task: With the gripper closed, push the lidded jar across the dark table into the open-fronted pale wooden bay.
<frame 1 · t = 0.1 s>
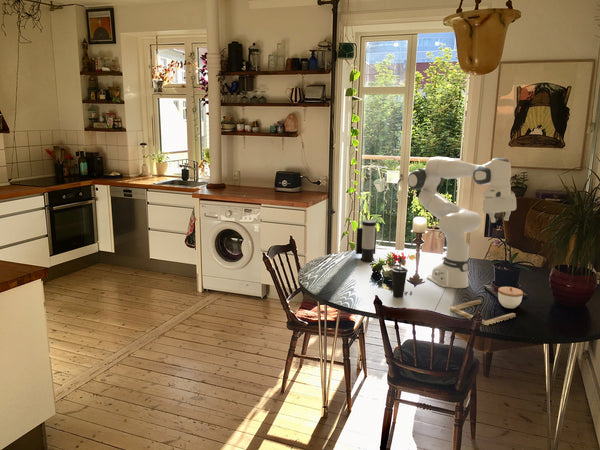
hand: (499, 221, 233), 39 cm above the table, tool pointing down, fingers open, 8 cm apart
lidded jar: (508, 306, 233), on the table
drinking cup: (397, 296, 243), on the table
bay: (481, 313, 223), on the table
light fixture: (366, 260, 302), on the table
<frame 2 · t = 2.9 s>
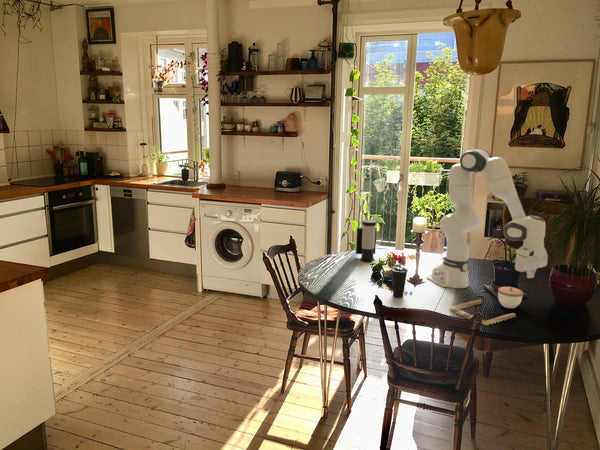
hand: (530, 277, 236), 12 cm above the table, tool pointing down, fingers closed
nothing on the table moved.
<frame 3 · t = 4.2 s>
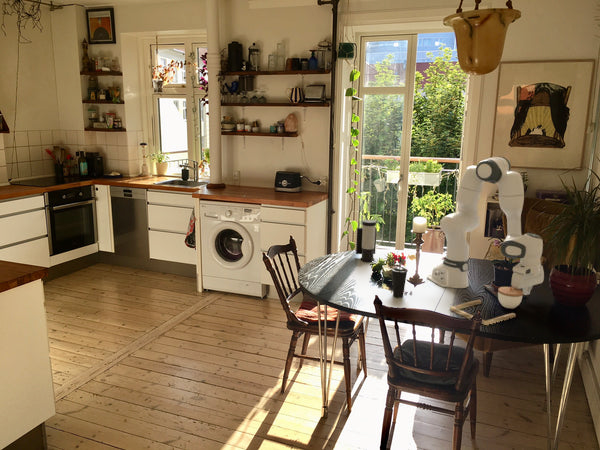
hand: (526, 294, 238), 4 cm above the table, tool pointing down, fingers closed
nothing on the table moved.
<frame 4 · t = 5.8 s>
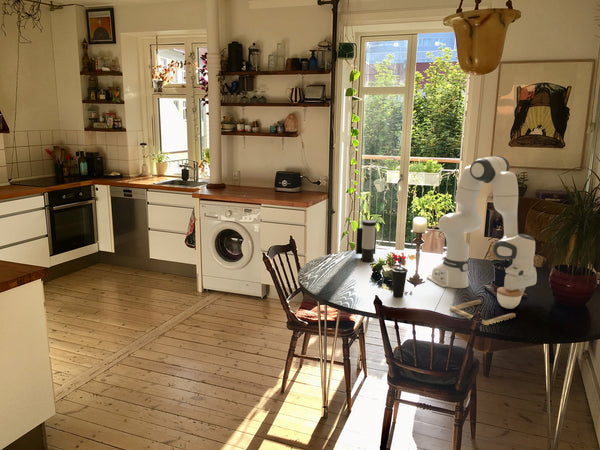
hand: (519, 296, 235), 4 cm above the table, tool pointing down, fingers closed
lidded jar: (507, 306, 232), on the table, touching gripper
everything else where it was.
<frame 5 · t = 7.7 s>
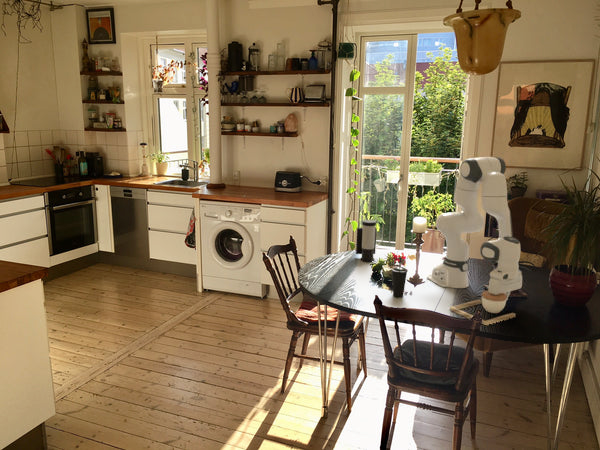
hand: (504, 300, 230), 4 cm above the table, tool pointing down, fingers closed
lidded jar: (492, 310, 226), on the table, touching gripper
everything else where it was.
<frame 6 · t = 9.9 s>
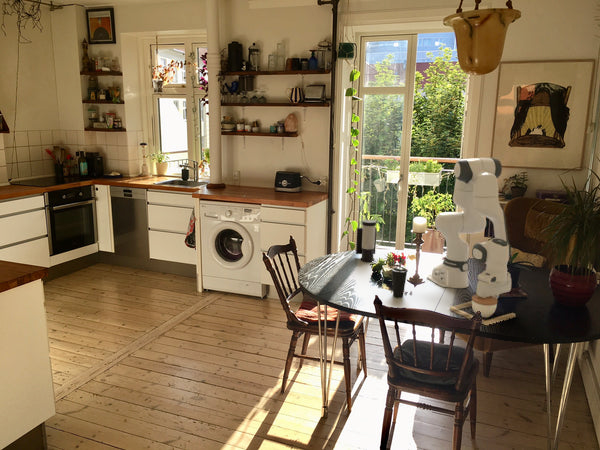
hand: (492, 303, 226), 4 cm above the table, tool pointing down, fingers closed
lidded jar: (482, 315, 221), on the table, touching gripper
everything else where it was.
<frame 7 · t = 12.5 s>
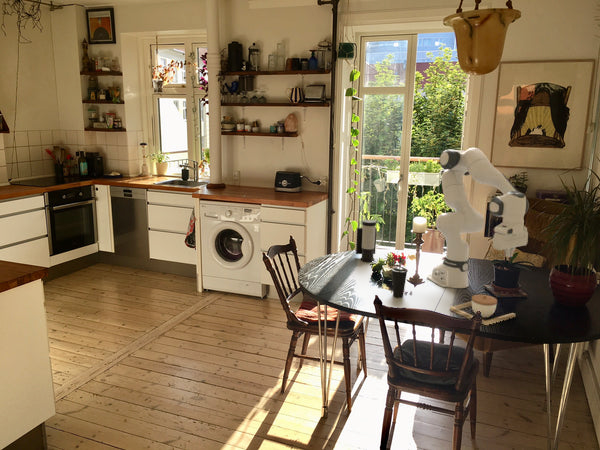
hand: (508, 256, 226), 25 cm above the table, tool pointing down, fingers closed
lidded jar: (482, 315, 221), on the table
everything else where it was.
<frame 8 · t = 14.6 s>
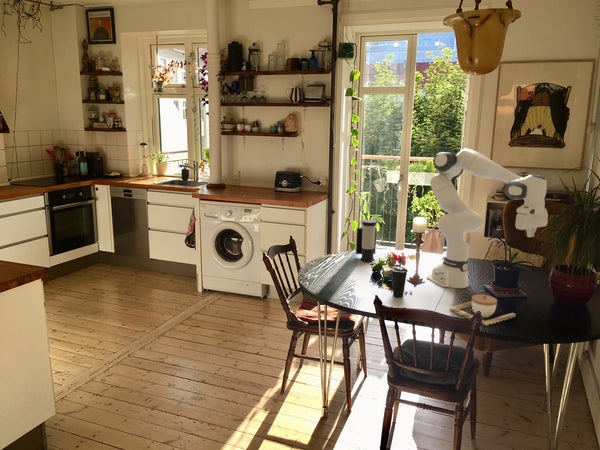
hand: (530, 236, 237), 31 cm above the table, tool pointing down, fingers closed
nothing on the table moved.
at the end: lidded jar 1.6 cm from the bay (horizontally); lidded jar tilted 0° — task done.
